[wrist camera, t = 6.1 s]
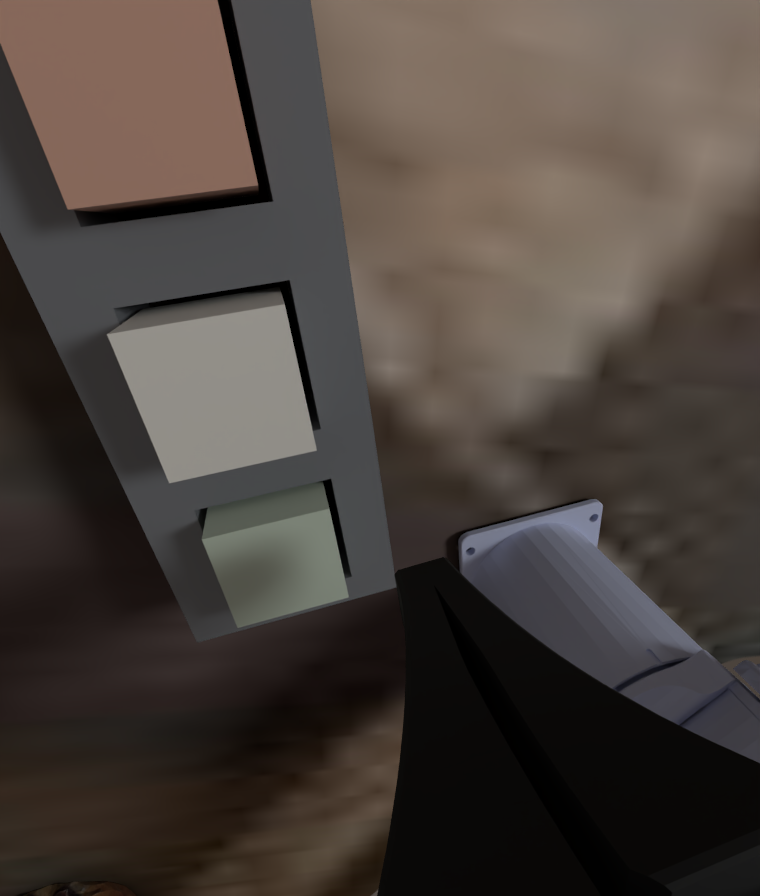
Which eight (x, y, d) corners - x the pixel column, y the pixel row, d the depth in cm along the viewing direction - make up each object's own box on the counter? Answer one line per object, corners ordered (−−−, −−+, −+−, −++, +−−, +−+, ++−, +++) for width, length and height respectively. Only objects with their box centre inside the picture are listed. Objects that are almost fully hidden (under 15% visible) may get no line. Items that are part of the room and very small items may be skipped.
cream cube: (305, 406, 15) (316, 450, 12) (187, 430, 15) (169, 483, 12) (279, 286, 14) (284, 304, 10) (143, 309, 13) (106, 334, 10)
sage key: (334, 538, 19) (348, 597, 16) (241, 562, 18) (237, 628, 15) (317, 458, 17) (329, 508, 14) (212, 482, 17) (201, 539, 14)
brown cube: (258, 194, 13) (258, 185, 10) (115, 213, 12) (67, 209, 9) (218, 12, 11) (201, -69, 8) (46, 24, 10) (-41, -58, 7)
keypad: (377, 535, 21) (396, 587, 18) (206, 579, 20) (197, 642, 17) (281, -48, 12) (289, -143, 9) (-51, -31, 11) (-176, -135, 8)
